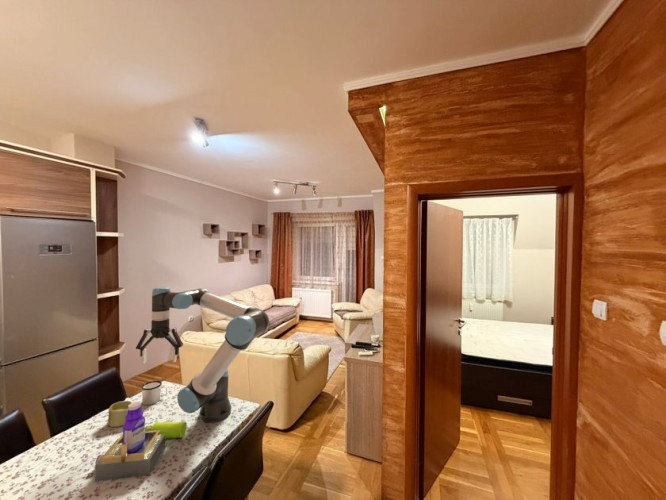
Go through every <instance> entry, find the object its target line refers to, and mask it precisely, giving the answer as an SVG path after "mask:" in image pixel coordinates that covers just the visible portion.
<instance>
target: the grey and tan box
mask: <svg viewBox="0 0 666 500" xmlns="http://www.w3.org/2000/svg"><path fill="white" fill-rule="evenodd" d="M160 431H161V430H156V431H145V442H144V444H143V445H142V447H141V448H139V449H138V450H137V451H135V452H133V453H127V443H124V444H123V433H122V434H121V435H120V437H118V438H117V439H116V440H115V441H114V442H113V444H112V445H111V446H110V447H109V448H108V450H106V452H105V453H104V454H99V455H97V457H96V459H95V461H94V463H95V465H94V482H95V483H96V482H102V481H112V480H120V479H128V478H129V479H130V478H137V477H138V478H139V477H145V476H151V474H152V473H153V470H154V469H155V467H156V465H157V464H158V462H159V460H160V459H161V457H162V455H163V453H164V451H165V450H166V439H167V438H166V434H164V435H160Z"/></svg>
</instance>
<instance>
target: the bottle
mask: <svg viewBox="0 0 666 500" xmlns="http://www.w3.org/2000/svg"><path fill="white" fill-rule="evenodd" d="M125 419H126V421H125V423H124V425H122V434H123V444H124V443H127V453H133V452H135V451H137V450H138V449H139V448H141V447H142V445H143V444H144V442H145V427H146V418H145V416H144V411H143V409H142V401H133V402H132V403H131V404H129V405H128V413H127V415H126V417H125Z"/></svg>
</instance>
